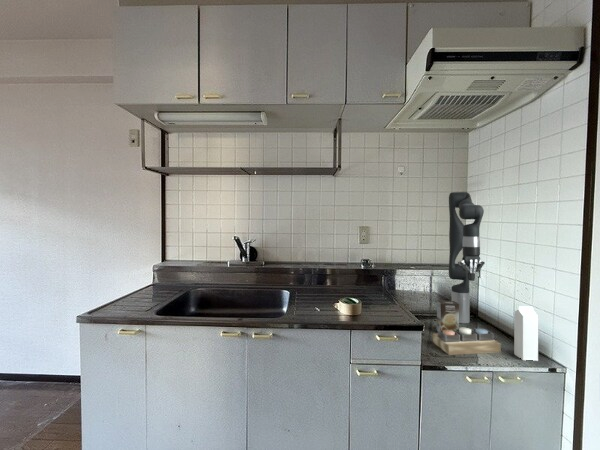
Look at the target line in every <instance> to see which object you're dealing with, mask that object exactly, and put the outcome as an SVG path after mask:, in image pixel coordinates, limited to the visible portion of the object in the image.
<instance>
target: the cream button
mask: <svg viewBox="0 0 600 450" xmlns="http://www.w3.org/2000/svg"><path fill="white" fill-rule="evenodd" d="M471 329H472V328H469V327H465V326H464V327H463V326H462V327H460V326H459V332H460V333H461V334H463V335H466V334H471Z"/></svg>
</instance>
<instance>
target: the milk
mask: <svg viewBox="0 0 600 450" xmlns="http://www.w3.org/2000/svg"><path fill="white" fill-rule="evenodd" d="M513 314H514V315H513V316H514V317H513V318H514V321H513V323H514V324H513V326H514V329H513V332H514V341H513V343H514V345H513V346H514V347H513V349H514V351H513V352H514V353H513V354H514V356H515V357H518V358H519V359H520V358H521V359H520V360H521V361H526V360H533V361H534V362H535V361H536V362H539V316H538V314H537V313H536V311H535V310H534V306H530V305H529V306H527V305H526V306H525V305H523V306H522V305H519V306H518V309H517V310H514V312H513ZM533 361H532V362H533Z"/></svg>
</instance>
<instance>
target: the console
mask: <svg viewBox="0 0 600 450" xmlns="http://www.w3.org/2000/svg"><path fill="white" fill-rule="evenodd" d="M470 329H471V334H466V335H463V334H461V333H460V332H459V329H457V330H454V331H453V330H451V331H453V332H455V335H445V334H443V330H438V331H437V333H432V343H433V344H434V345H435V346H437V347H438V348H440V349H441V351H443V352H445V353H446V354H447V355H449V356H451V355H452V356H453V355H474V354H475V355H476V354H477V355H478V354H494V353H495V354H497V353H499V354H500V353H502V349H501V348H502V343H501V342H499V341H497V340H496V339H494V337H495V336H494V335H495V334H494V333H493V332H491V331H489V330H487V329H485V328H482V329H484V330H487V331H488V334H479V333H477V332H476V331H475V329H476V328H470Z"/></svg>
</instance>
